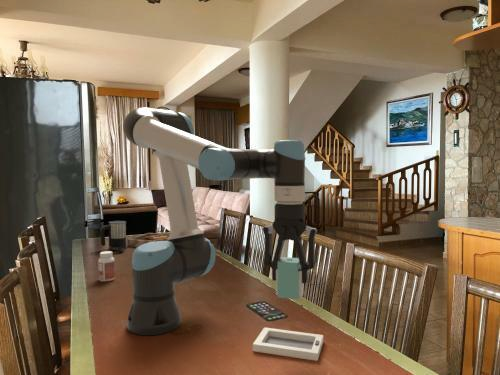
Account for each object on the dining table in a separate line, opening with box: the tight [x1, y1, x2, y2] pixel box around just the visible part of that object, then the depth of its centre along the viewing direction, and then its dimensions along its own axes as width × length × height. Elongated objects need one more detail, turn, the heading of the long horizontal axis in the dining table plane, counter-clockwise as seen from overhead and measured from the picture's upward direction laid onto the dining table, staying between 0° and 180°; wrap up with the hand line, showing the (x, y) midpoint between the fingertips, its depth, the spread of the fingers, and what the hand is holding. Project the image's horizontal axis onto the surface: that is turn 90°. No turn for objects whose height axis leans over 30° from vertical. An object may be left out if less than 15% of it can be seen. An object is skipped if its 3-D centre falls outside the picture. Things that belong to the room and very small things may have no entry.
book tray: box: [127, 232, 171, 248], centre depth 227 cm, size 24×22×4 cm
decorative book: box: [144, 233, 168, 241], centre depth 227 cm, size 11×16×5 cm
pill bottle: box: [97, 250, 116, 282], centre depth 158 cm, size 6×6×11 cm
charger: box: [277, 256, 301, 300], centre depth 99 cm, size 5×5×9 cm
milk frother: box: [99, 220, 128, 253], centre depth 211 cm, size 14×16×15 cm
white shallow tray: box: [252, 326, 324, 362], centre depth 100 cm, size 16×10×2 cm, turn 72°
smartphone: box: [245, 300, 289, 322], centre depth 124 cm, size 7×1×15 cm
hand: (289, 294), depth 99 cm, fingers closed on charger, 5 cm apart
